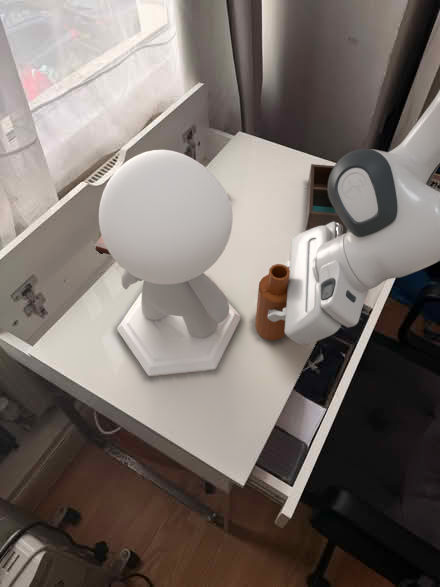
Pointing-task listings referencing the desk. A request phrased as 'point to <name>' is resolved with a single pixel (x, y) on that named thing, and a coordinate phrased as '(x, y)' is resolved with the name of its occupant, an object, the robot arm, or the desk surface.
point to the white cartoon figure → (170, 259)
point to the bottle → (272, 301)
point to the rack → (320, 199)
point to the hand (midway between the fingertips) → (271, 298)
